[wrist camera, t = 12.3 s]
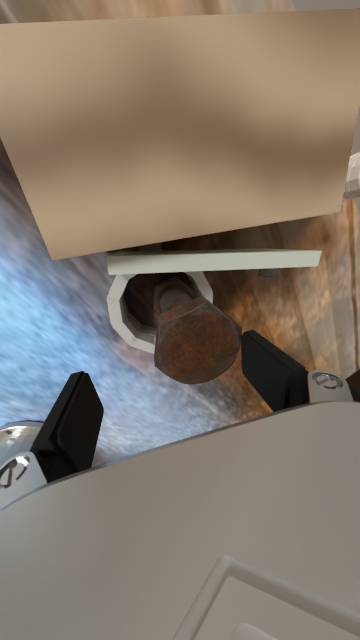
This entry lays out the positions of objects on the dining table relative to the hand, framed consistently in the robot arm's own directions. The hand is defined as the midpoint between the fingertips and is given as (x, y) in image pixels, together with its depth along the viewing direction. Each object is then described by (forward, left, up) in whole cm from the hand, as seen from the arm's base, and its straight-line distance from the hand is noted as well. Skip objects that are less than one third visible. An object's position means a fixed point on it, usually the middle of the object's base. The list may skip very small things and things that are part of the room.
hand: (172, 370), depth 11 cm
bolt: (+1, -2, -15) cm, 15 cm away
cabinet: (+5, -4, -15) cm, 16 cm away
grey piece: (0, -4, -12) cm, 13 cm away
